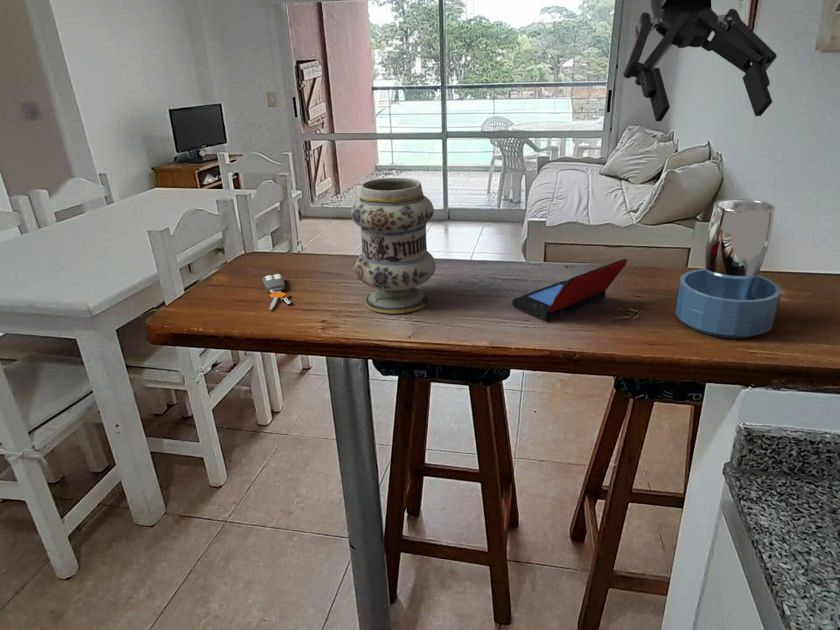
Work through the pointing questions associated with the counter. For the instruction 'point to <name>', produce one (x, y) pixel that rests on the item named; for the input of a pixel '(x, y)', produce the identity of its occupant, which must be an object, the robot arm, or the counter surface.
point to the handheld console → (569, 293)
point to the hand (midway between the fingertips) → (713, 112)
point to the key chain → (275, 288)
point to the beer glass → (736, 246)
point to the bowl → (727, 308)
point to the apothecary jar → (394, 244)
